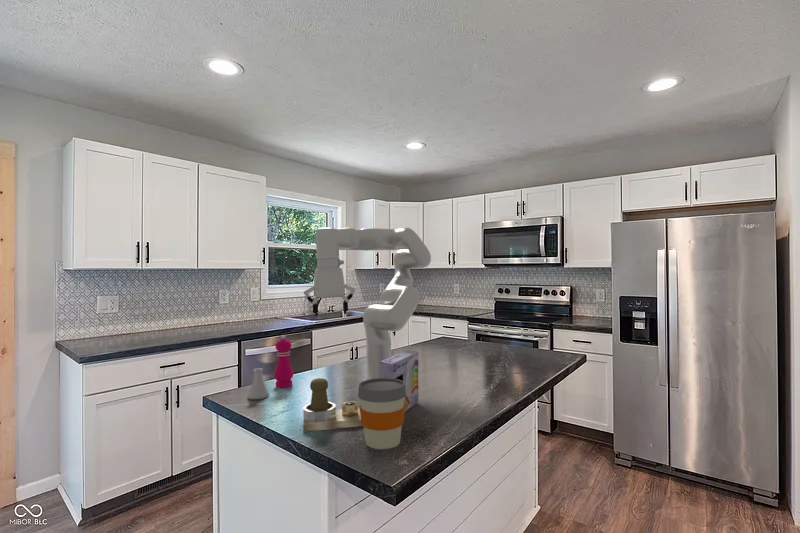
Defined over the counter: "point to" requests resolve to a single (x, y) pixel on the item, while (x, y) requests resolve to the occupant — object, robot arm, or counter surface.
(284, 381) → the pepper mill
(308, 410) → the wide steel collar
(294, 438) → the counter surface
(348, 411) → the narrow brass collar
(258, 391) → the flask
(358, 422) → the fitting board
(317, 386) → the cork
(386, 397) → the reusable coffee cup
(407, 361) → the cake pan box
